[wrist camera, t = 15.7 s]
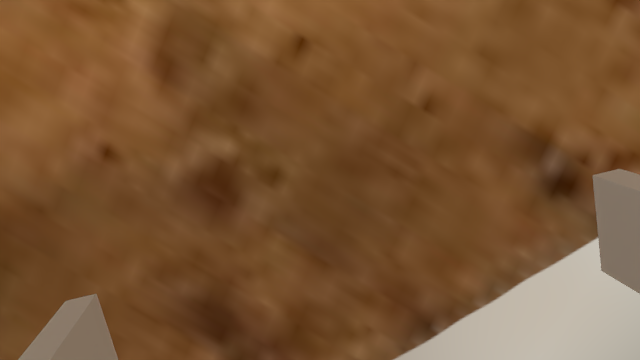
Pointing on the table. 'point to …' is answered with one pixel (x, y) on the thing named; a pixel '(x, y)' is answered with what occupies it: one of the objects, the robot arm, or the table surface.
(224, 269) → the table surface
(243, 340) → the table surface
